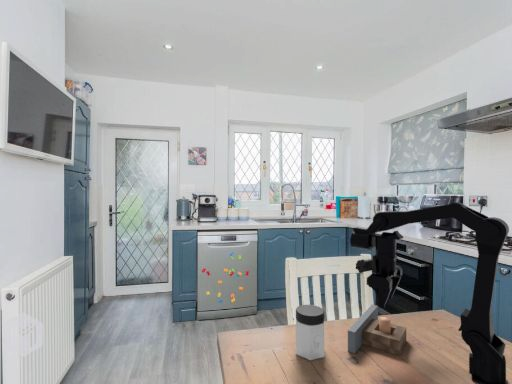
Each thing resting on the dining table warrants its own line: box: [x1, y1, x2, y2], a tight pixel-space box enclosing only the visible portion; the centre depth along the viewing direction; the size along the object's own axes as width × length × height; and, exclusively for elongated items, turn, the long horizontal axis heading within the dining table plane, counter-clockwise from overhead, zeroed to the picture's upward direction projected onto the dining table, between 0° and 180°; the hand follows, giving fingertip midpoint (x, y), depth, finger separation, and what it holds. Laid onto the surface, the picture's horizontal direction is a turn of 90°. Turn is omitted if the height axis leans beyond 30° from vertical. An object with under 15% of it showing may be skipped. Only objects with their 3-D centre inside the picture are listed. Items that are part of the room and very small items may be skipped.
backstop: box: [347, 304, 379, 354], centre depth 89 cm, size 2×24×6 cm, turn 142°
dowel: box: [378, 316, 392, 334], centre depth 85 cm, size 3×3×7 cm
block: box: [362, 319, 407, 356], centre depth 85 cm, size 10×10×4 cm
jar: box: [295, 304, 326, 361], centre depth 80 cm, size 9×8×12 cm
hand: (385, 303), depth 85 cm, fingers open, 9 cm apart
